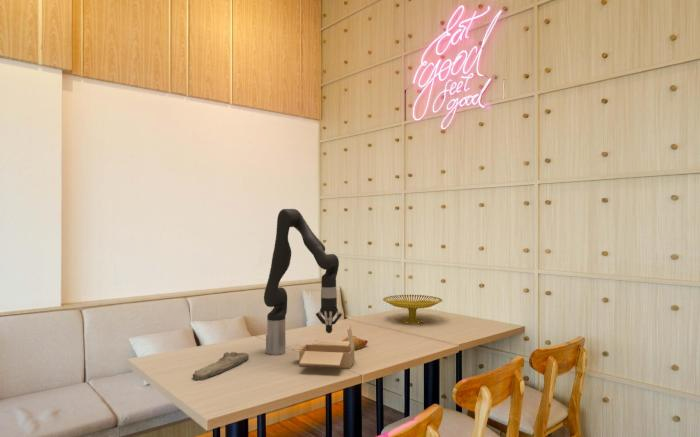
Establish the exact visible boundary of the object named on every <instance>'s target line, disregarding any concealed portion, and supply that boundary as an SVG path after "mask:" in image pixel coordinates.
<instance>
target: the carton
mask: <svg viewBox="0 0 700 437" xmlns="http://www.w3.org/2000/svg"><path fill="white" fill-rule="evenodd" d="M349 344H350V343H349V341H341V340H326V339H325V340H324V339H316V340H315V341H313V343H312V344H305V345H304V344H296V345H295V346H294V347H293V348H292V350H294V351H299V360H298V362H299V364H298V366H299V367H305V368H307V367H309V368H326V369H327V368H329V369H334V368H335V369H349V370H350V369H351V368H352V367H353V364H354V362H355V350H354V348H353V350H352V351H351V348H350V346H349ZM305 351H318V352H342V353H343V357H342V360H341V363H340V366H332V365H311V364H300V361H301V359H302V357H303V355H304V353H305Z"/></svg>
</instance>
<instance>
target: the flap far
mask: <svg viewBox="0 0 700 437" xmlns="http://www.w3.org/2000/svg"><path fill="white" fill-rule="evenodd" d="M347 335H348V336H347V337H349V343H350V348H351V351H352V350H353V348H354V342H353V336H354V335H353V330H352V326H351V325H349V326H348V328H347Z"/></svg>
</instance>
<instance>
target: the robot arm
mask: <svg viewBox="0 0 700 437" xmlns="http://www.w3.org/2000/svg"><path fill="white" fill-rule="evenodd" d="M290 228H294V229H296V230H297V232H299V234H300V235H301V238H302V242H303V244H304V246H305V247H306V248H307V250H308V251H309V252H310V253H311V254H312V256H313V257H314V260H315V263H316V264H317V266H318V267H319V268H321V269H322V270H325V273H324V274H322V276H321V278H320V279H321V289H320V309H319V311H318V312H317V313H315V316H316V318H317V319H318V320H319V321H320V322H321V324H322V325H325V332H326V333H327V334H331V333H332V332H333V325H335V324H336V323H337V322H339V319H340V318H341V317H342V316H343V313H342V312H340V311H339V309H338V302H337V301H338V290H337V275H338V272H339V267H340V261H339V258H338V256H337V255H336V254H335V253H330V254H327V253H326V246H325V245H324V244H323V242H321V240H320V239H319V238H318V237H317V236H316V234H315V233H314V232H313V231H312V229H311V228H310V226H309V225H308V222H307V221H306V220H305V218H304V216H303V215H302V214H301V212H300V211H299V210H298V209H296V208H283V209H281V210H280V211H279V212H278V215H277V220H276V232H275V239H274V240H275V241H274V246H273V247H274V248H273V252H272V258H271V265H270V270H269V275H268V279H267V282H266V283H267V284H266V286H265V290H264V294H263V301H264V304H265V306H266V307H268V308H272V310H271V311H269V313H268V314H267V316H266V319H267V321H266V324H267V327H266V328H267V330H266V334H265V354H268V355H274V356H275V355H276V356H278V355H283V354H285V353H286V350H287V349H286V315H287V312H288V311H287V310H288V294H287V290H286V289H285V288H284V287H279V285H280V283H281V280H282V278H283V277H284V275H285V274H286V272H287V271H288V269H289V268H290V264H291V259H292V248H291V245H290V242H289V232H290ZM335 316H336V317H335ZM334 317H335V319H334Z"/></svg>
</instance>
